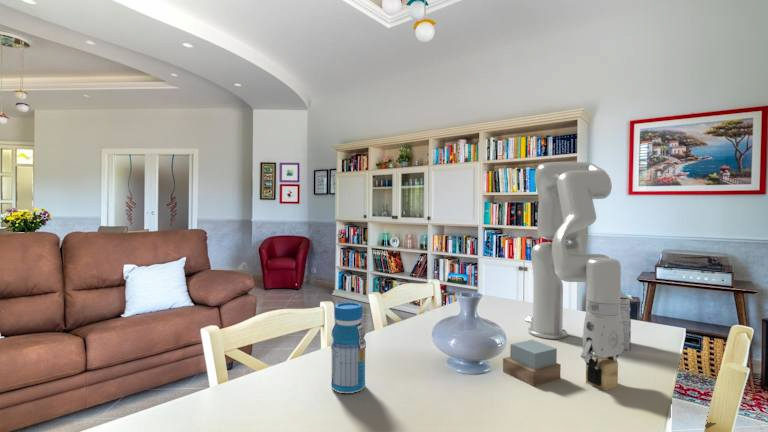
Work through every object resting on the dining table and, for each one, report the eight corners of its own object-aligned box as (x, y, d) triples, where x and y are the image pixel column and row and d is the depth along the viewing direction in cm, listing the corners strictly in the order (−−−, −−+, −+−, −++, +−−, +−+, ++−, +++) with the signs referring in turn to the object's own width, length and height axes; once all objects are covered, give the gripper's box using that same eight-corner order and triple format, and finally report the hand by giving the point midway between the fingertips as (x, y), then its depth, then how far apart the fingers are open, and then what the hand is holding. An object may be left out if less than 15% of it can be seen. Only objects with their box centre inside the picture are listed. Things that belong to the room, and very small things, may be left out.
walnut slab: (502, 373, 107) (503, 358, 107) (529, 366, 112) (529, 352, 112) (533, 388, 99) (533, 371, 99) (560, 379, 103) (560, 364, 103)
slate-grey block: (510, 358, 107) (510, 344, 107) (531, 354, 111) (531, 339, 111) (534, 369, 100) (534, 353, 100) (556, 364, 104) (556, 348, 103)
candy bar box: (601, 338, 135) (602, 289, 135) (617, 339, 134) (618, 290, 134) (613, 350, 124) (614, 297, 124) (631, 351, 123) (632, 297, 123)
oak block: (585, 382, 101) (586, 358, 101) (598, 378, 103) (598, 355, 103) (605, 390, 97) (605, 365, 96) (617, 386, 99) (617, 362, 99)
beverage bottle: (338, 398, 92) (338, 311, 92) (325, 384, 99) (326, 303, 99) (371, 390, 96) (371, 307, 95) (357, 377, 103) (357, 299, 103)
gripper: (595, 315, 92) (594, 394, 93) (638, 307, 100) (637, 380, 101) (566, 308, 99) (565, 382, 99) (608, 301, 107) (607, 369, 107)
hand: (601, 380), depth 100 cm, fingers closed on oak block, 4 cm apart
